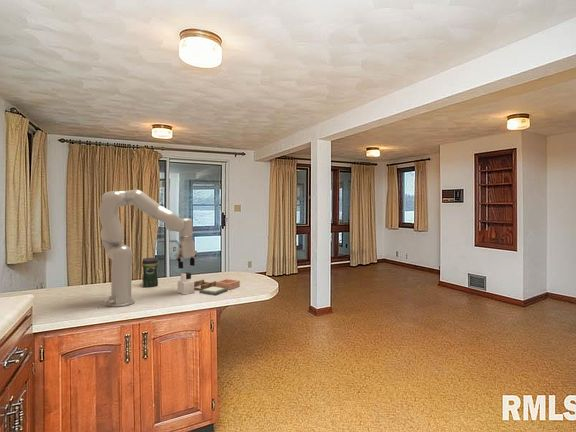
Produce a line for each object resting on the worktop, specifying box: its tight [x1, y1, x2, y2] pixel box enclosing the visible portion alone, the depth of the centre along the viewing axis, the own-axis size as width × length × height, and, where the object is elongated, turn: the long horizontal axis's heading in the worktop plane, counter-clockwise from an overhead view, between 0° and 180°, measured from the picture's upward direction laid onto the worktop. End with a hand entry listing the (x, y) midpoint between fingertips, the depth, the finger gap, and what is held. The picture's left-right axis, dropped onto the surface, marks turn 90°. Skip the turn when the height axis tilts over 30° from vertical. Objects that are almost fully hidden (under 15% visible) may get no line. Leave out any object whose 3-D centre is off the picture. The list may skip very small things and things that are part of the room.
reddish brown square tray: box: [215, 278, 241, 291], centre depth 218 cm, size 11×11×4 cm
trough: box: [194, 279, 217, 292], centre depth 218 cm, size 17×12×3 cm
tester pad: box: [203, 286, 224, 292], centre depth 205 cm, size 9×9×1 cm
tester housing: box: [199, 288, 229, 296], centre depth 205 cm, size 12×12×2 cm
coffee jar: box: [141, 257, 159, 288], centre depth 220 cm, size 10×8×19 cm
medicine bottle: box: [177, 272, 195, 295], centre depth 203 cm, size 7×7×12 cm
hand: (186, 266), depth 204 cm, fingers open, 9 cm apart
